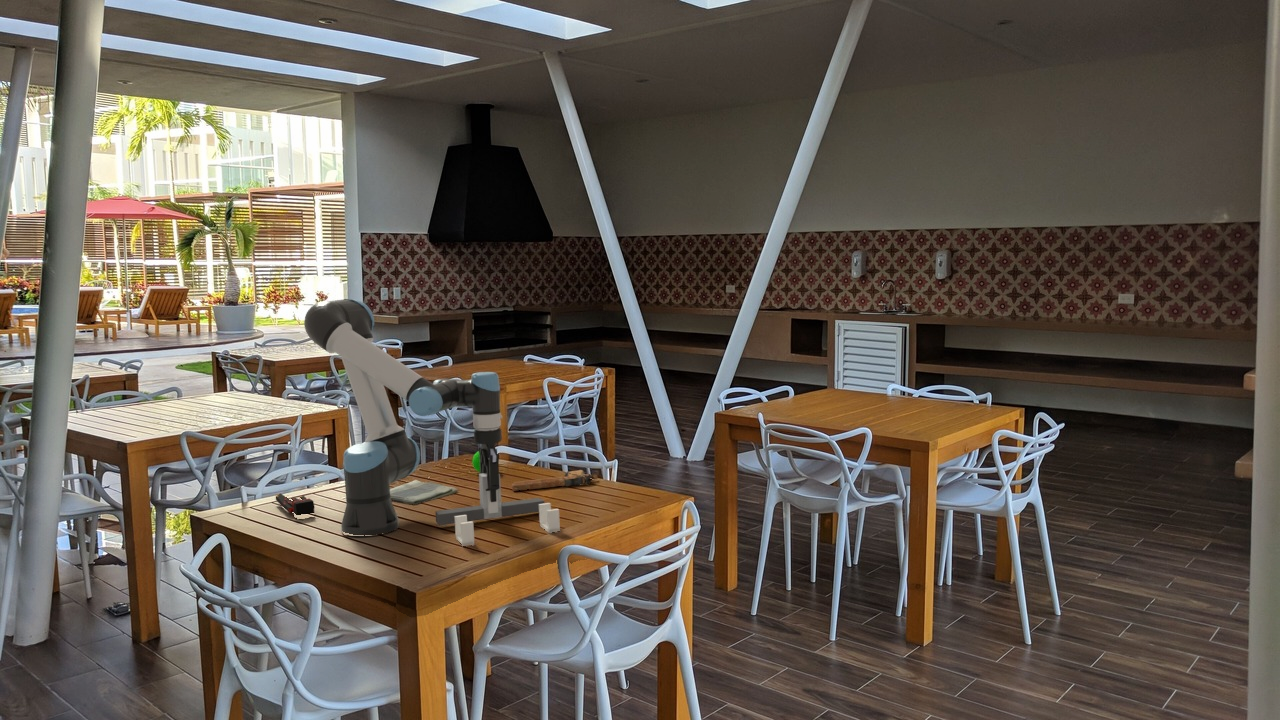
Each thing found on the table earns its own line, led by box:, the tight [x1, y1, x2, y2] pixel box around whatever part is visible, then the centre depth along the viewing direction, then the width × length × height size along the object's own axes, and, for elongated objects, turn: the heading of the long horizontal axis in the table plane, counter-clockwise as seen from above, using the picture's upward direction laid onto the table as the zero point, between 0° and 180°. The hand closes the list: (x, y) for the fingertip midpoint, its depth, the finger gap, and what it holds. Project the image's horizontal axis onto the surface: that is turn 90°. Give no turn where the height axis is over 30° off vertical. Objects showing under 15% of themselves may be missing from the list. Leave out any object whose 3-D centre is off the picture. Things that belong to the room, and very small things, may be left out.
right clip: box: [538, 502, 561, 534], centre depth 250 cm, size 3×8×6 cm, turn 23°
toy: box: [275, 493, 315, 515], centre depth 283 cm, size 8×5×30 cm
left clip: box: [454, 515, 475, 547], centre depth 241 cm, size 3×8×6 cm, turn 23°
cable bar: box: [434, 473, 545, 526], centre depth 260 cm, size 30×4×12 cm, turn 113°
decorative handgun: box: [511, 469, 598, 492], centre depth 302 cm, size 3×28×15 cm
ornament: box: [472, 450, 480, 473], centre depth 321 cm, size 8×8×10 cm
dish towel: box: [390, 479, 459, 506], centre depth 294 cm, size 19×18×3 cm
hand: (490, 510), depth 260 cm, fingers closed on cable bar, 4 cm apart
